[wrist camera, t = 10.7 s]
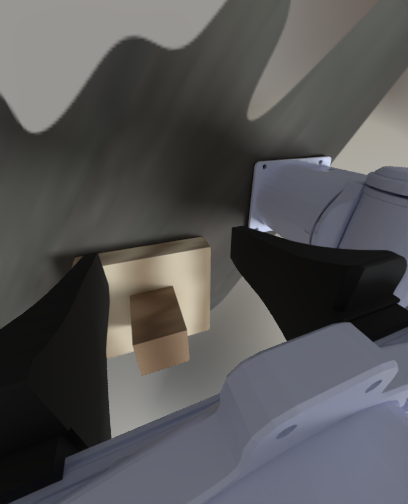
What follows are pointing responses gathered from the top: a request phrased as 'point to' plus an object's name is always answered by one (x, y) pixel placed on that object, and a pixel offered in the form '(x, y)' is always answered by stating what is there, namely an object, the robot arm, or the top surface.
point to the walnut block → (158, 330)
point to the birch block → (157, 285)
